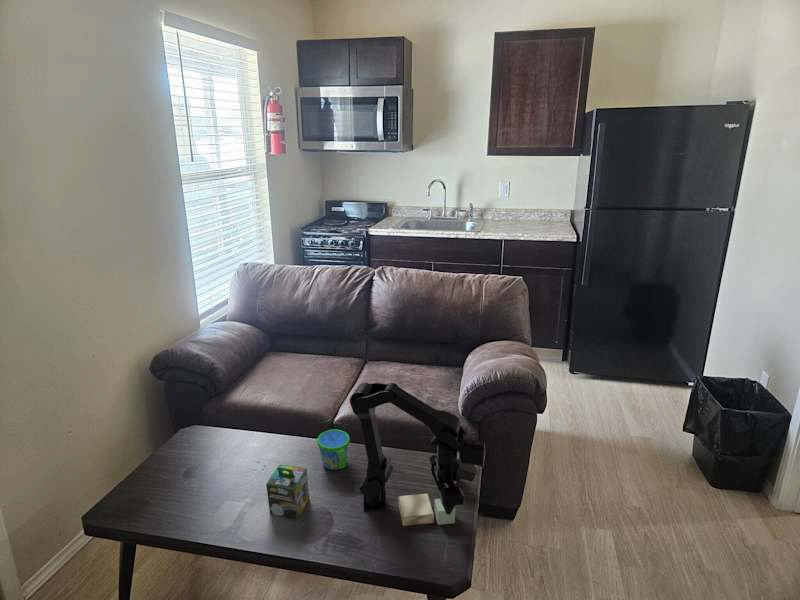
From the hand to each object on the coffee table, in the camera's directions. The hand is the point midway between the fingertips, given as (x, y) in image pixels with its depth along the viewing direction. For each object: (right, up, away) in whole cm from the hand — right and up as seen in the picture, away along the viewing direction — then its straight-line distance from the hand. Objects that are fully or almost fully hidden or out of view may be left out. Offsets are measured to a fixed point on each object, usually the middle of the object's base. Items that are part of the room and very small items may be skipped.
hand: (444, 502), depth 149 cm
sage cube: (0, -5, +2) cm, 6 cm away
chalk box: (-46, -4, +6) cm, 47 cm away
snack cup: (-35, +3, +24) cm, 43 cm away
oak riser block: (-8, -4, +4) cm, 10 cm away
